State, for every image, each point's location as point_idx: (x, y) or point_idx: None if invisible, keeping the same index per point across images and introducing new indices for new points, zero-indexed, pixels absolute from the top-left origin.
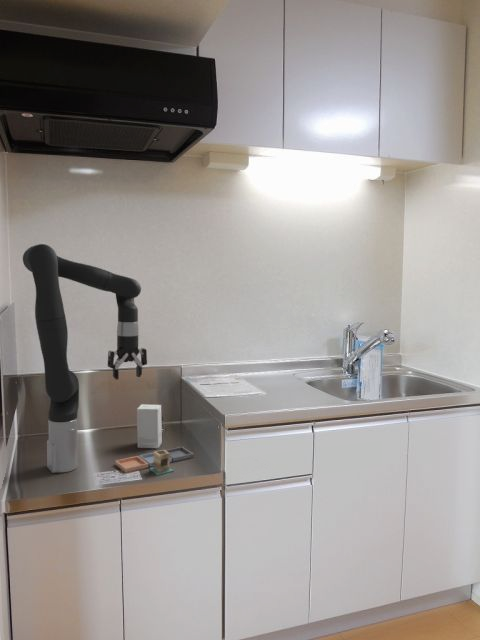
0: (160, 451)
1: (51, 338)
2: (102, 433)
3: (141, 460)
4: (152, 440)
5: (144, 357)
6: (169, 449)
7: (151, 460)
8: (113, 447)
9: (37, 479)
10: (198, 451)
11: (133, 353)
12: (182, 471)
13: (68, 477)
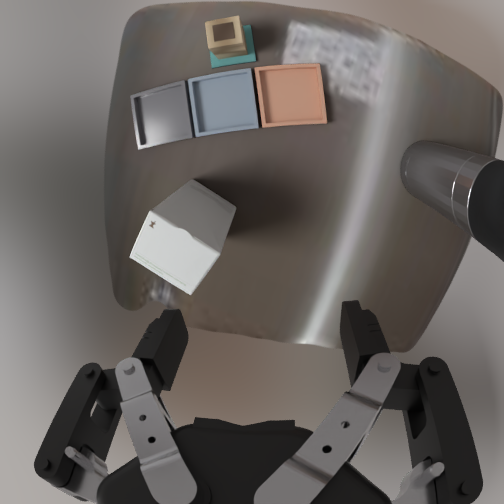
0: (224, 36)
1: None
2: (283, 324)
3: (262, 98)
4: (198, 189)
5: (73, 414)
6: (171, 139)
7: (234, 102)
8: (291, 234)
9: (470, 142)
10: (113, 130)
11: (167, 495)
12: (188, 29)
13: (429, 115)
